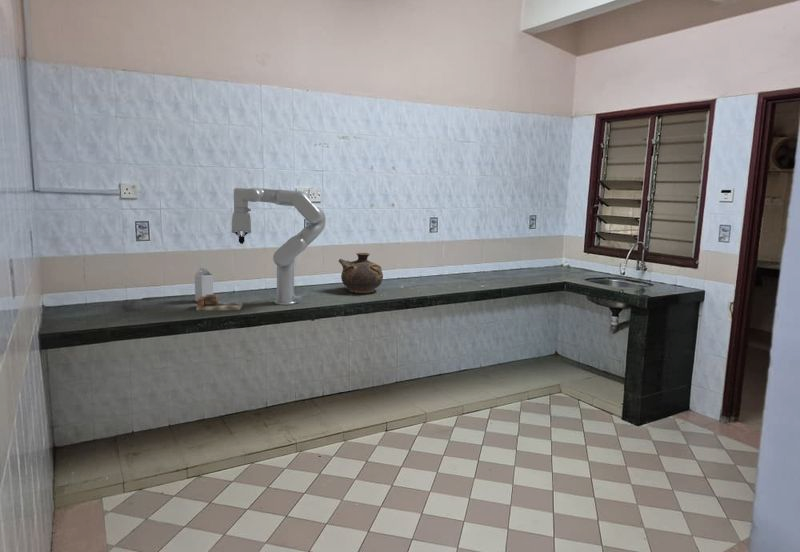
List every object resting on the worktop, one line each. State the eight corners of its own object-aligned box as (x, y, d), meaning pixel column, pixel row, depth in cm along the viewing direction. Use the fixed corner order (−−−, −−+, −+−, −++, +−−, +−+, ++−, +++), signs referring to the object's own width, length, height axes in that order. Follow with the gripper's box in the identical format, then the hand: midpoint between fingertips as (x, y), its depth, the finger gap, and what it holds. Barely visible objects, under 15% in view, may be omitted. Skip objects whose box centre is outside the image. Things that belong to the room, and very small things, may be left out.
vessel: (331, 289, 349) (333, 251, 346) (365, 287, 368) (367, 251, 365) (357, 296, 329) (359, 255, 326) (391, 293, 348) (393, 255, 345)
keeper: (218, 303, 293) (218, 294, 292) (216, 305, 287) (216, 296, 286) (206, 303, 292) (206, 294, 291) (204, 305, 286) (204, 296, 285)
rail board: (242, 305, 298) (242, 295, 297) (239, 310, 287) (239, 299, 286) (200, 305, 294) (200, 295, 293) (196, 310, 283) (196, 300, 282)
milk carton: (206, 299, 310) (205, 266, 307) (213, 301, 306) (212, 268, 303) (195, 301, 305) (194, 267, 302) (202, 303, 300) (201, 269, 297)
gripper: (255, 210, 304) (256, 243, 307) (228, 210, 302) (228, 242, 305) (254, 211, 297) (254, 244, 300) (226, 210, 294) (226, 244, 297)
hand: (241, 243), depth 302 cm, fingers closed
